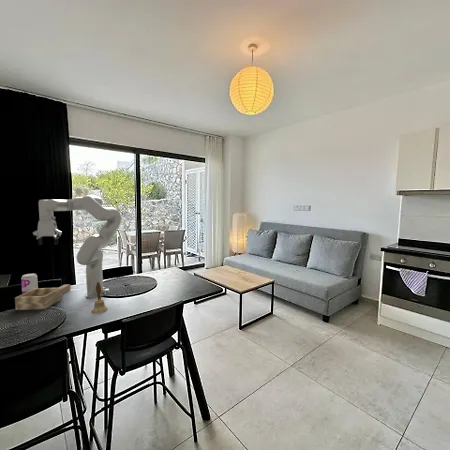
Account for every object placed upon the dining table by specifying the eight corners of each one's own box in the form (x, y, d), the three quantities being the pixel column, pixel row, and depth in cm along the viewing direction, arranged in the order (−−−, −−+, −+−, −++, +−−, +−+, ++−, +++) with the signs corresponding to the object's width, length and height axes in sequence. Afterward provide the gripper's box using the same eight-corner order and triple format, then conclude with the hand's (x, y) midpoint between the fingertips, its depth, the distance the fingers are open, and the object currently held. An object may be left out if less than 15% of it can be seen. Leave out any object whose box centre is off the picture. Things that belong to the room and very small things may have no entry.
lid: (82, 290, 178) (82, 282, 178) (69, 298, 161) (68, 290, 161) (58, 291, 177) (57, 283, 177) (41, 299, 160) (41, 291, 160)
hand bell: (110, 310, 139) (108, 282, 138) (94, 315, 133) (92, 285, 132) (104, 306, 145) (103, 279, 144) (89, 310, 139) (87, 282, 138)
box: (62, 300, 157) (61, 287, 156) (45, 310, 141) (44, 296, 140) (35, 301, 156) (35, 288, 155) (15, 311, 140) (14, 297, 139)
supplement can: (29, 300, 158) (28, 276, 157) (19, 299, 159) (17, 276, 158) (41, 295, 165) (40, 273, 165) (31, 295, 167) (29, 273, 166)
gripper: (63, 218, 168) (65, 243, 169) (36, 218, 166) (37, 244, 167) (57, 218, 161) (59, 245, 162) (28, 219, 159) (30, 246, 160)
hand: (48, 244), depth 165 cm, fingers open, 9 cm apart
